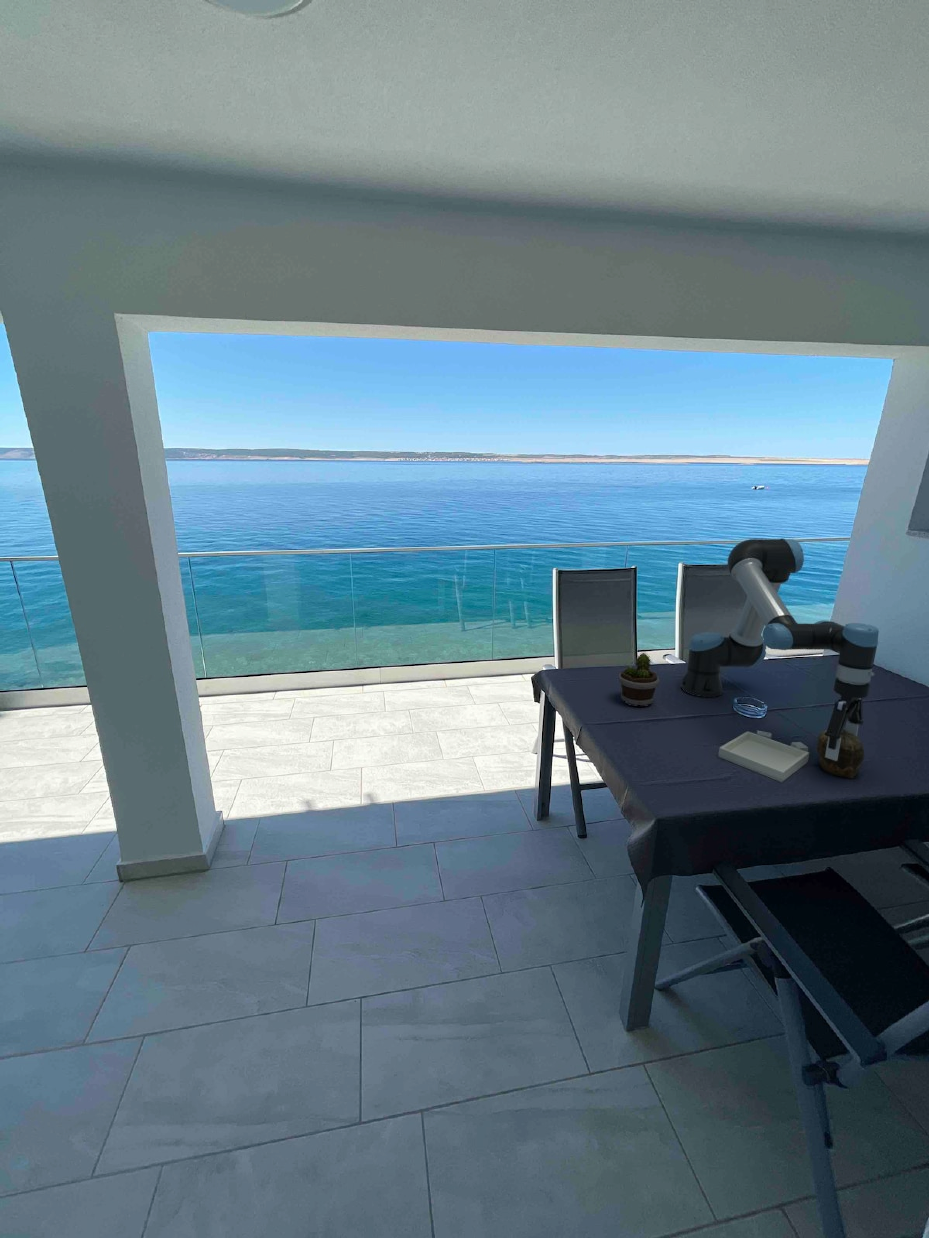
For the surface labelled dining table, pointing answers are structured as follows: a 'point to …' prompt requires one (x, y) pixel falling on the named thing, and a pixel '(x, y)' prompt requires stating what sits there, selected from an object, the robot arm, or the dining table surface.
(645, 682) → the flowerpot
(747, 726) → the dining table surface
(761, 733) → the pebble
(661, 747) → the dining table surface
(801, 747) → the pebble
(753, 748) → the dish
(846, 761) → the shell
